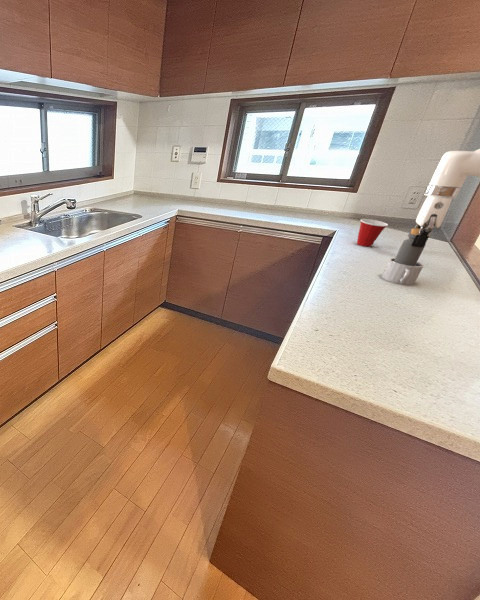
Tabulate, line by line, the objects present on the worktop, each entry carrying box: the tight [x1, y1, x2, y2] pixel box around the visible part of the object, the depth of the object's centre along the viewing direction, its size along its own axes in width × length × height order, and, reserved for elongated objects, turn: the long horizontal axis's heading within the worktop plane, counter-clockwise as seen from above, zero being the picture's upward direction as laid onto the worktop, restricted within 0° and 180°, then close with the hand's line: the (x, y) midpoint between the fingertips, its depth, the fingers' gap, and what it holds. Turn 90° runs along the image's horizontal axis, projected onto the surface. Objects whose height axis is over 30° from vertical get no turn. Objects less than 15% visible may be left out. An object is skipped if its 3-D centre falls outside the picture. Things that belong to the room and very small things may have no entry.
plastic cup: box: [356, 218, 389, 248], centre depth 160 cm, size 11×11×12 cm
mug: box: [381, 257, 424, 286], centre depth 119 cm, size 13×9×7 cm
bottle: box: [394, 227, 427, 266], centre depth 116 cm, size 6×6×15 cm
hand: (415, 244), depth 115 cm, fingers closed on bottle, 5 cm apart
